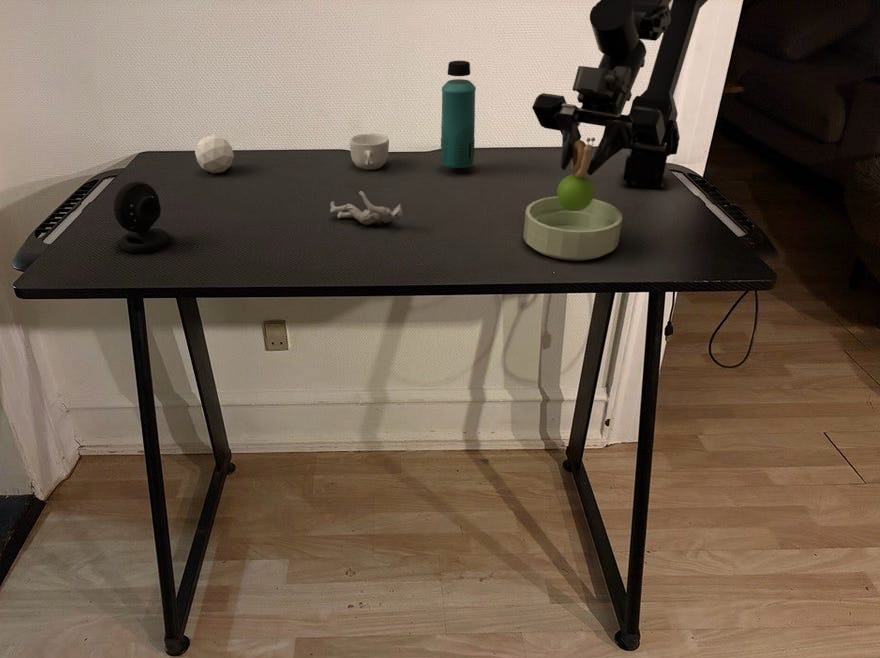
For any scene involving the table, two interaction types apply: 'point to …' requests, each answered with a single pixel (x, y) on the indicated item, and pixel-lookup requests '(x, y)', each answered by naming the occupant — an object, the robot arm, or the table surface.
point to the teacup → (369, 150)
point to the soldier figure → (368, 212)
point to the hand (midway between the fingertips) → (575, 171)
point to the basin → (572, 229)
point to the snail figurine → (577, 179)
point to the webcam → (139, 217)
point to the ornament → (214, 154)
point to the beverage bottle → (458, 118)
